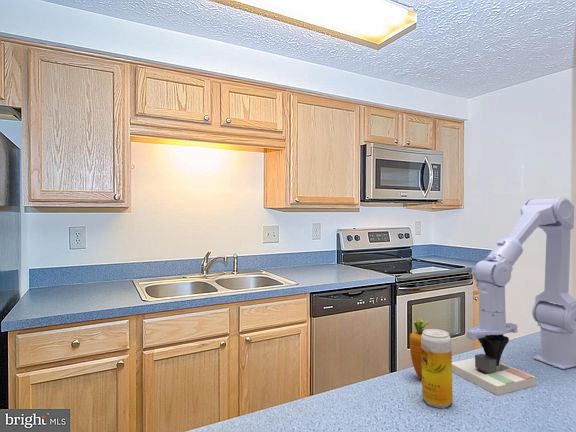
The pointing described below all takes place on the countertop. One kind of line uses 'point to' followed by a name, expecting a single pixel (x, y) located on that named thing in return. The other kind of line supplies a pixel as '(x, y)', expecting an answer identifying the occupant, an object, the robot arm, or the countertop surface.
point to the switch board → (494, 377)
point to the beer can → (436, 368)
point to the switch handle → (485, 364)
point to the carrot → (417, 346)
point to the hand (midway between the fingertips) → (493, 364)
